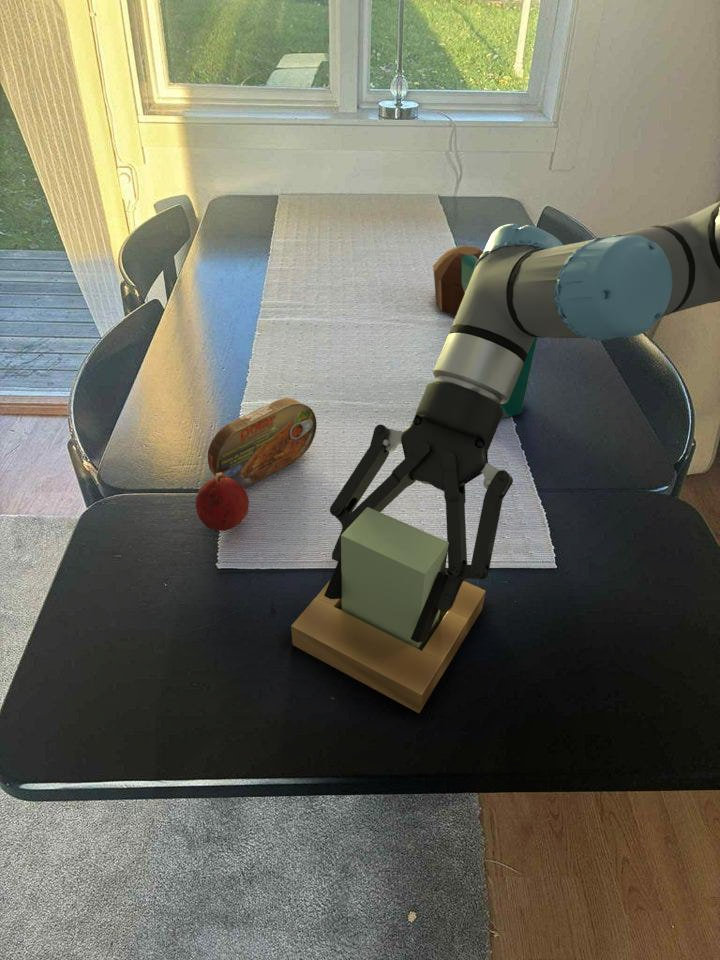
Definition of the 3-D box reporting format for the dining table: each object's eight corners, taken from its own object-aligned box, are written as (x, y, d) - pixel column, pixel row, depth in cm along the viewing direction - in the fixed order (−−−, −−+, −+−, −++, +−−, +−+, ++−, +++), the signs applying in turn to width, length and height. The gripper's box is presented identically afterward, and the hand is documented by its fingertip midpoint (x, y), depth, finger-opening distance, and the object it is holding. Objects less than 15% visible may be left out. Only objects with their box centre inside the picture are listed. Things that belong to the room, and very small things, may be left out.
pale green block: (365, 591, 73) (367, 506, 65) (438, 626, 69) (449, 541, 62) (341, 620, 70) (340, 535, 62) (416, 659, 67) (424, 574, 59)
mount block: (365, 556, 78) (366, 537, 76) (482, 609, 72) (486, 590, 70) (292, 645, 68) (290, 625, 66) (419, 713, 63) (421, 695, 61)
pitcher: (497, 383, 105) (521, 239, 90) (528, 414, 99) (560, 265, 85) (439, 396, 102) (455, 249, 87) (467, 428, 96) (489, 277, 82)
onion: (233, 552, 78) (225, 499, 72) (190, 536, 79) (179, 483, 74) (260, 519, 82) (255, 467, 76) (218, 504, 83) (210, 452, 78)
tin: (222, 500, 84) (214, 445, 78) (208, 487, 86) (199, 432, 80) (319, 449, 92) (317, 395, 86) (303, 438, 94) (301, 385, 88)
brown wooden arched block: (496, 322, 119) (505, 266, 113) (431, 320, 119) (437, 264, 113) (488, 291, 128) (496, 237, 122) (428, 289, 128) (433, 235, 122)
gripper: (581, 439, 64) (487, 666, 64) (381, 371, 72) (298, 572, 73) (576, 420, 57) (470, 675, 57) (355, 347, 66) (263, 570, 66)
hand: (374, 617), depth 65 cm, fingers closed on pale green block, 8 cm apart
